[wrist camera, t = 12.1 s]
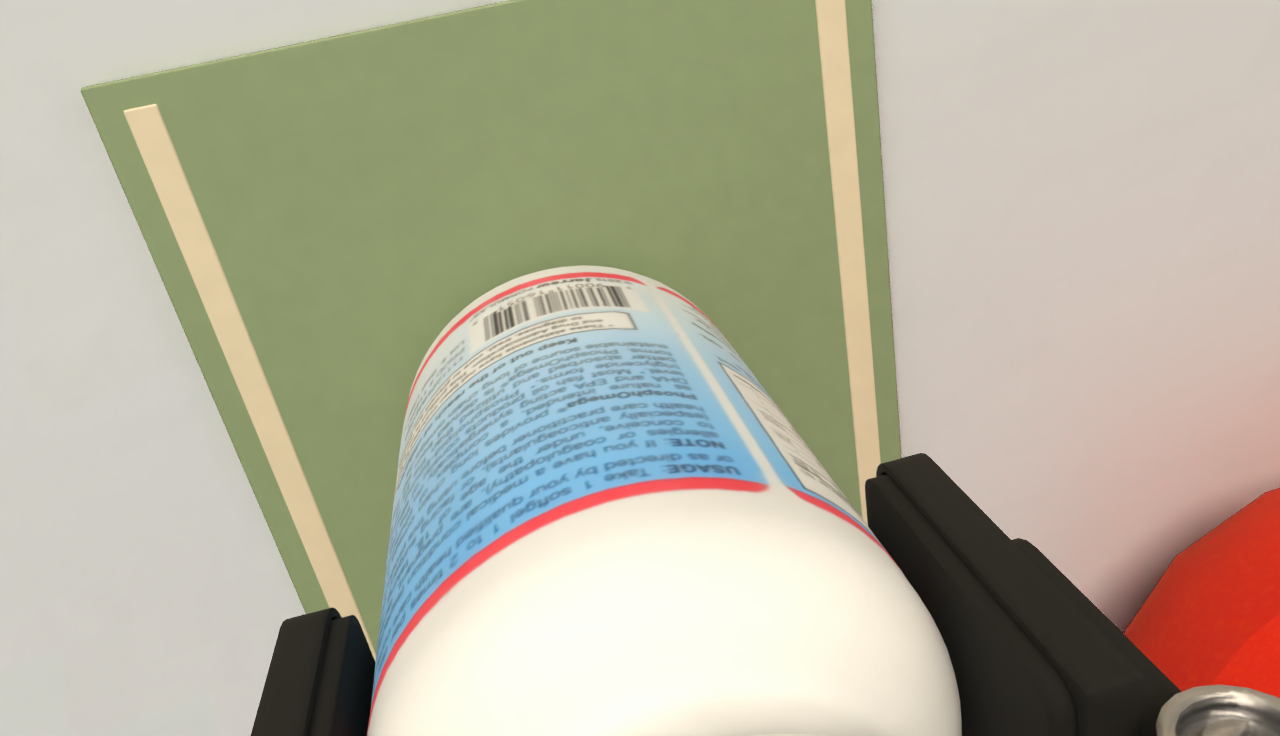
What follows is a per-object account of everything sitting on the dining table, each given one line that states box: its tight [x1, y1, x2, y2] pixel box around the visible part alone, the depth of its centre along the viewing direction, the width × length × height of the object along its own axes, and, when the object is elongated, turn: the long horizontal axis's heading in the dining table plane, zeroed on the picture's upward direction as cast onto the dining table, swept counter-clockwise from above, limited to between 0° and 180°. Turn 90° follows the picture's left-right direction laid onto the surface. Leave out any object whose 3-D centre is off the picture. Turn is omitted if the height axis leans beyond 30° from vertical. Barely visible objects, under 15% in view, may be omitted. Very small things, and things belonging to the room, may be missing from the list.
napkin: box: [81, 0, 901, 662], centre depth 17 cm, size 14×12×1 cm
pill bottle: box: [367, 265, 962, 736], centre depth 11 cm, size 6×6×11 cm
